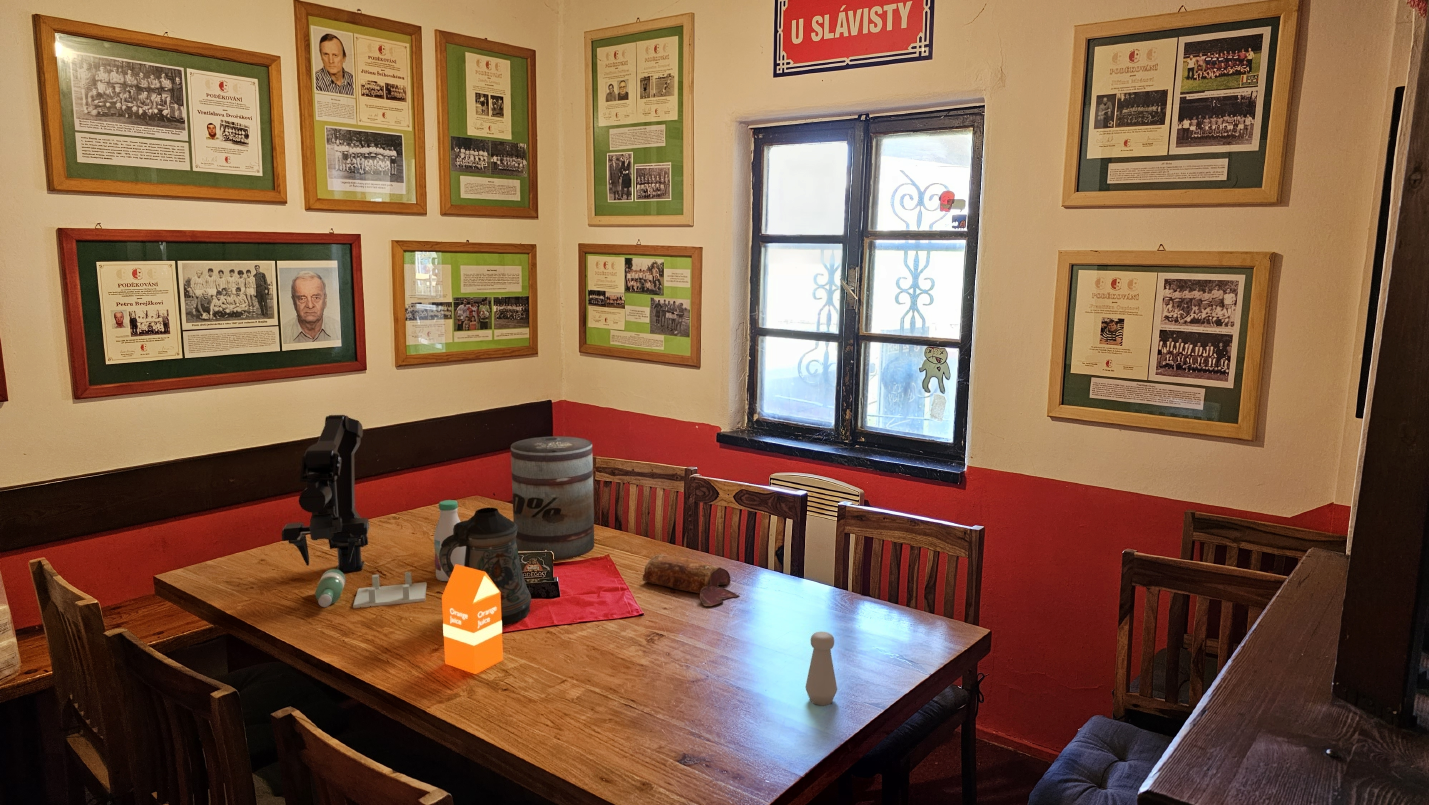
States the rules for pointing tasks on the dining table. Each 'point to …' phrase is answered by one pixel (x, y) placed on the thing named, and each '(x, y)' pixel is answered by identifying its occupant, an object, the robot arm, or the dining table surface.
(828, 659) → the salt shaker
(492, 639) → the orange juice
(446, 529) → the milk bottle
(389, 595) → the white four-legged tray
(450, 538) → the beer stein
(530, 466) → the barrel
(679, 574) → the cured meat
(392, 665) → the dining table surface
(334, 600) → the bottle
